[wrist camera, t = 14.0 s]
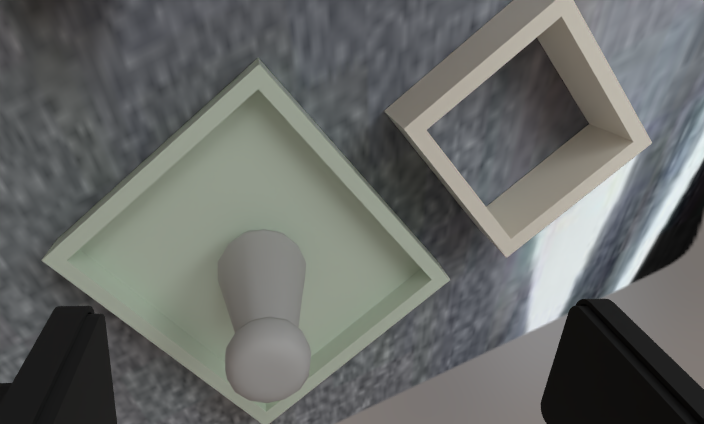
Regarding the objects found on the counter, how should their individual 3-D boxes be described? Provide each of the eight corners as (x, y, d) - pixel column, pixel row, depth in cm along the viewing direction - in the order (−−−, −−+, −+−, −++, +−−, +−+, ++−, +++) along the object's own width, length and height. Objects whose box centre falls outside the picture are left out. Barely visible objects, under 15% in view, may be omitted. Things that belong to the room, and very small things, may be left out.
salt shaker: (201, 259, 37) (181, 387, 25) (256, 200, 36) (261, 304, 25) (266, 304, 40) (275, 441, 28) (319, 250, 39) (352, 367, 27)
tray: (258, 57, 34) (259, 64, 31) (437, 260, 42) (450, 279, 39) (56, 239, 36) (41, 260, 33) (264, 399, 44) (265, 426, 41)
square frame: (526, -11, 35) (567, -11, 31) (606, 124, 40) (652, 143, 36) (383, 110, 37) (403, 128, 32) (477, 227, 41) (506, 257, 37)
